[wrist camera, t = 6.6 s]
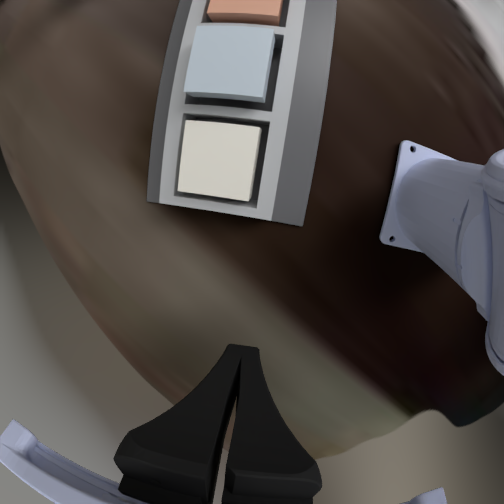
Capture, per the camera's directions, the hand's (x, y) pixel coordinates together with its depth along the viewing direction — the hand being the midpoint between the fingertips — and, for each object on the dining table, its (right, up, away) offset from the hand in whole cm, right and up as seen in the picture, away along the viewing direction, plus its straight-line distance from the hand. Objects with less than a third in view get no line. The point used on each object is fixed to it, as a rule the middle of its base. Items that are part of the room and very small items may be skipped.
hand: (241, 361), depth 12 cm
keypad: (0, +20, +4) cm, 20 cm away
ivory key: (-1, +11, +6) cm, 13 cm away
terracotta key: (0, +22, +2) cm, 22 cm away
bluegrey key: (-1, +17, +3) cm, 17 cm away
